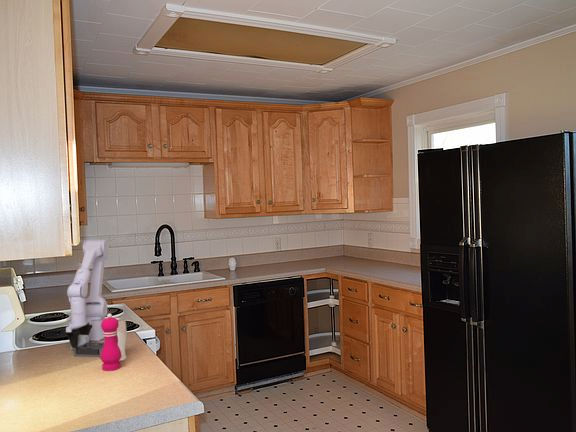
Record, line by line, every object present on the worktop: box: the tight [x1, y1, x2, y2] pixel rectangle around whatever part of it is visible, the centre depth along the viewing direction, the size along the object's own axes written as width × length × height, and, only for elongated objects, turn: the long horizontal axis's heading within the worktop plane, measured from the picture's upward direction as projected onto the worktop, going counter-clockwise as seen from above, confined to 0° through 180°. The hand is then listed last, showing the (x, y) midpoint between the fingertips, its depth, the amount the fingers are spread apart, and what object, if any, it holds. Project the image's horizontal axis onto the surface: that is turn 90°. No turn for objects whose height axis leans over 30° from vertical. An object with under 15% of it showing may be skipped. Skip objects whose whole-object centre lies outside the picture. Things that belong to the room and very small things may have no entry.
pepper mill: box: [99, 312, 122, 372], centre depth 182 cm, size 7×7×20 cm
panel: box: [69, 334, 90, 350], centre depth 209 cm, size 2×7×6 cm, turn 79°
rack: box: [73, 341, 104, 358], centre depth 201 cm, size 9×12×3 cm
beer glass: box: [116, 318, 128, 362], centre depth 192 cm, size 7×7×15 cm
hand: (79, 345), depth 209 cm, fingers open, 7 cm apart
